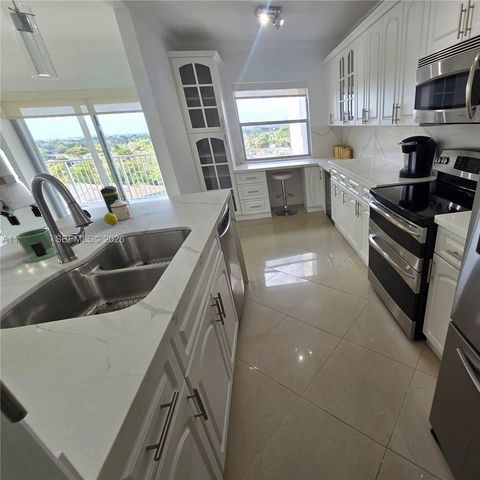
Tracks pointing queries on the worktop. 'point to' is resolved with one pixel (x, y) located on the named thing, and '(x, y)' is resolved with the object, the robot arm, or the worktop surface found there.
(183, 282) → the worktop surface
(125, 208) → the teacup with lid
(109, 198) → the coffee jar
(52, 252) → the lid
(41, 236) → the green round open container
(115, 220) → the lemon
